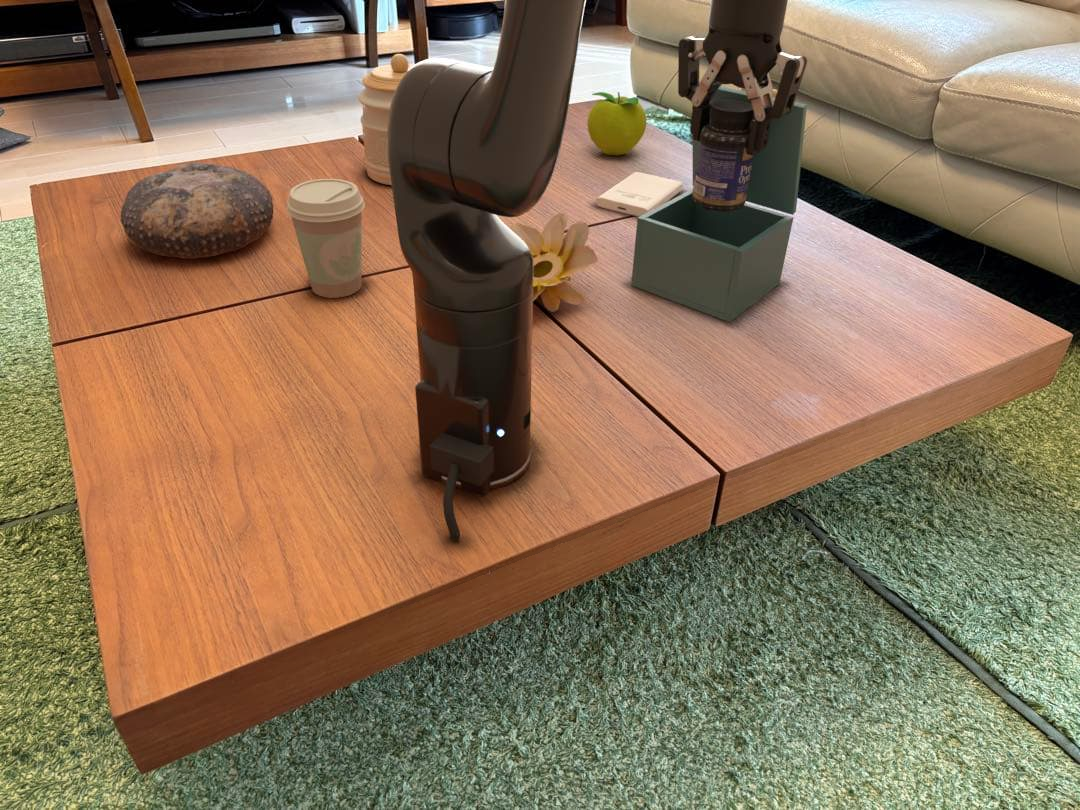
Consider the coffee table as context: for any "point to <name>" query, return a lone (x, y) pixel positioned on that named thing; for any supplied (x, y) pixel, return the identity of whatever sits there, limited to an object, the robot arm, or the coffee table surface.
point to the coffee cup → (329, 234)
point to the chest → (710, 255)
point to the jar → (379, 114)
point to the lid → (772, 157)
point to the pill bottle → (724, 157)
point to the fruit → (616, 123)
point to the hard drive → (639, 194)
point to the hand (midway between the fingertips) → (726, 145)
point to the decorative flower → (557, 259)
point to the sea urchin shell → (196, 211)
